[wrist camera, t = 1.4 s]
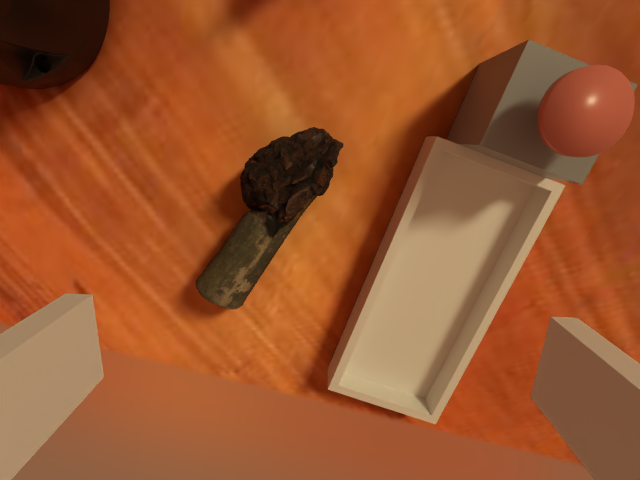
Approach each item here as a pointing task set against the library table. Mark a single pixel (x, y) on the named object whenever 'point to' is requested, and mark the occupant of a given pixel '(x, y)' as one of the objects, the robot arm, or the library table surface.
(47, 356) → the robot arm
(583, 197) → the library table surface
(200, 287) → the metal pipe
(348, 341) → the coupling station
